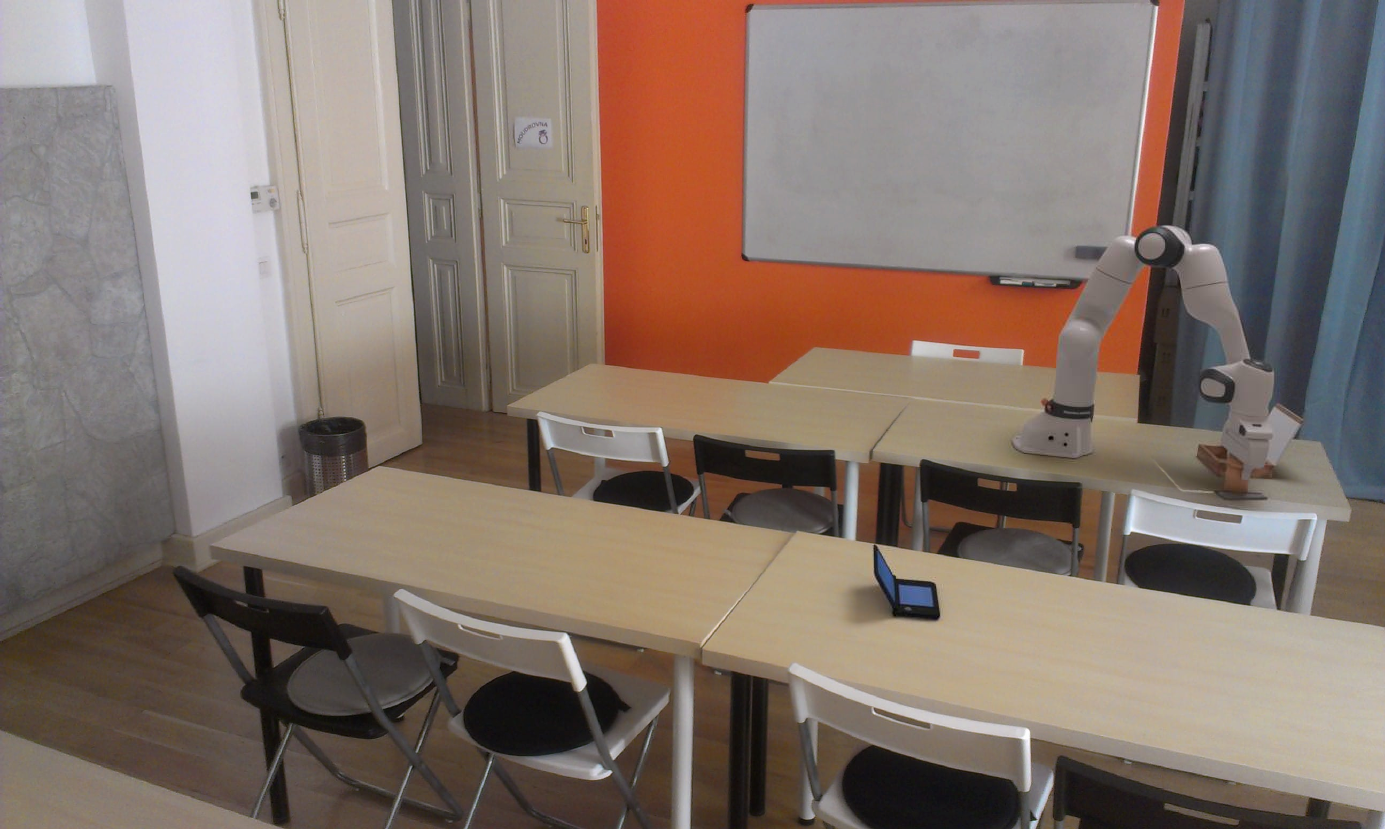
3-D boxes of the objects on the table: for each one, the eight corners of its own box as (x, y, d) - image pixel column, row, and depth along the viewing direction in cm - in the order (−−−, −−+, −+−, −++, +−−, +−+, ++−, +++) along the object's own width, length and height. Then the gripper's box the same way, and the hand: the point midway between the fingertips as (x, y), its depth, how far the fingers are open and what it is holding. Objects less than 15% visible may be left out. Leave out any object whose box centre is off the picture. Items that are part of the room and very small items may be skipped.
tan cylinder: (1226, 493, 267) (1232, 464, 264) (1217, 484, 273) (1223, 456, 270) (1252, 494, 266) (1258, 465, 264) (1243, 485, 272) (1248, 457, 270)
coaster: (1225, 499, 264) (1226, 497, 264) (1203, 484, 275) (1203, 482, 274) (1267, 499, 265) (1267, 497, 264) (1242, 484, 275) (1243, 482, 275)
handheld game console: (940, 622, 200) (944, 579, 197) (870, 616, 202) (873, 573, 199) (935, 586, 215) (938, 546, 212) (870, 581, 217) (873, 541, 214)
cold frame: (1216, 478, 279) (1219, 462, 278) (1196, 458, 294) (1198, 444, 293) (1270, 481, 278) (1273, 465, 276) (1247, 461, 293) (1250, 446, 292)
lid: (1301, 419, 272) (1305, 421, 272) (1276, 402, 287) (1279, 404, 287) (1273, 465, 276) (1277, 466, 276) (1250, 446, 292) (1253, 447, 292)
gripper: (1219, 410, 274) (1210, 459, 278) (1249, 434, 255) (1240, 486, 259) (1244, 411, 274) (1235, 460, 278) (1276, 435, 254) (1266, 487, 258)
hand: (1237, 473), depth 268 cm, fingers open, 7 cm apart
